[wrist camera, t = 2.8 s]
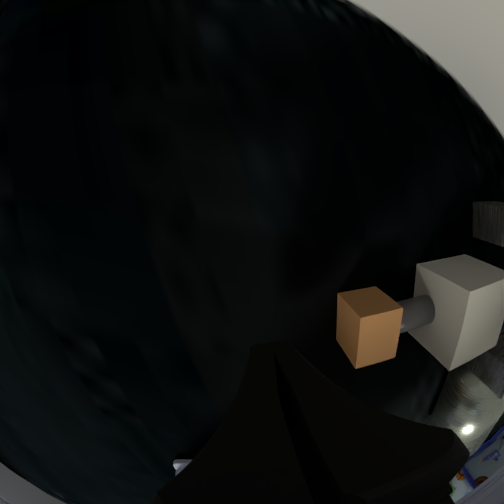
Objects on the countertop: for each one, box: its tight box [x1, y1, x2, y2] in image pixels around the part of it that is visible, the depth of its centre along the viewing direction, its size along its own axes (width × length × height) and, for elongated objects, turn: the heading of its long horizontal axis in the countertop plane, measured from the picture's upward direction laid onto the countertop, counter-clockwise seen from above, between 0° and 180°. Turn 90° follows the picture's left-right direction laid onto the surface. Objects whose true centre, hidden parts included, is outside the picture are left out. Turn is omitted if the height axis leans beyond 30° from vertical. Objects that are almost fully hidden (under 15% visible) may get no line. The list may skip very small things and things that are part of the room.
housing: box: [427, 201, 504, 457], centre depth 11 cm, size 6×17×6 cm, turn 6°
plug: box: [336, 254, 504, 371], centre depth 11 cm, size 8×4×4 cm, turn 96°
